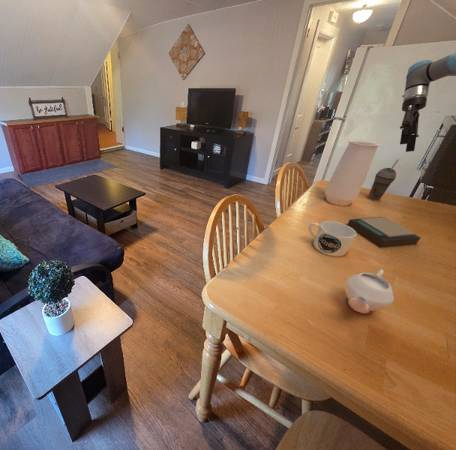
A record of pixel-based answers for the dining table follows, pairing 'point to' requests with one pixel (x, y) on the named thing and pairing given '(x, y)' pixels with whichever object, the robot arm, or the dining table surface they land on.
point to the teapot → (368, 292)
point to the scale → (383, 232)
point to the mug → (333, 237)
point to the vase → (351, 172)
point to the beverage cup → (382, 182)
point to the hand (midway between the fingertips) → (407, 147)
